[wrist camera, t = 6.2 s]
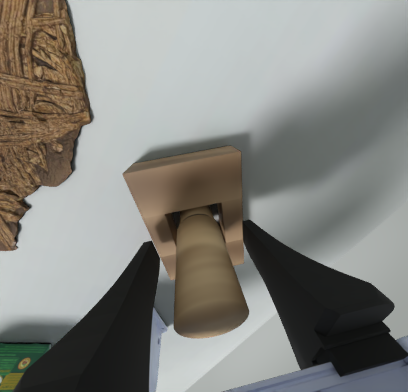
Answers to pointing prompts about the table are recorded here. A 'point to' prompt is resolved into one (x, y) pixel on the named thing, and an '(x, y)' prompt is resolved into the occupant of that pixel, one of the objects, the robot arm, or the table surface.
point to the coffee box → (17, 362)
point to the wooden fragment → (36, 104)
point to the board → (189, 196)
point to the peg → (205, 279)
